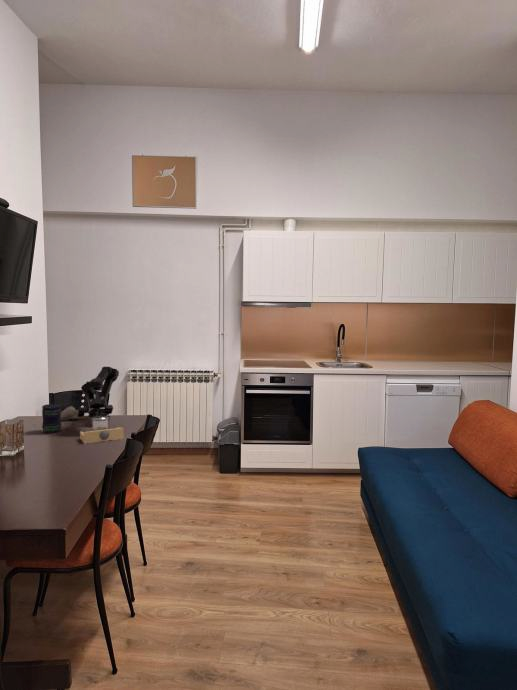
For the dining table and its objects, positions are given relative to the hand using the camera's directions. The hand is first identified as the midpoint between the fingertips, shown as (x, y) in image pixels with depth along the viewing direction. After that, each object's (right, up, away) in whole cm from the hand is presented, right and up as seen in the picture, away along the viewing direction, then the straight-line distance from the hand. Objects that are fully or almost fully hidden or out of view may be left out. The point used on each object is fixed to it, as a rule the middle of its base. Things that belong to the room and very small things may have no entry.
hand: (97, 423), depth 267 cm
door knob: (+2, -7, -3) cm, 8 cm away
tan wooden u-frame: (+5, -7, -7) cm, 11 cm away
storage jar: (-28, -6, +6) cm, 29 cm away
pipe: (-31, -3, +35) cm, 47 cm away
